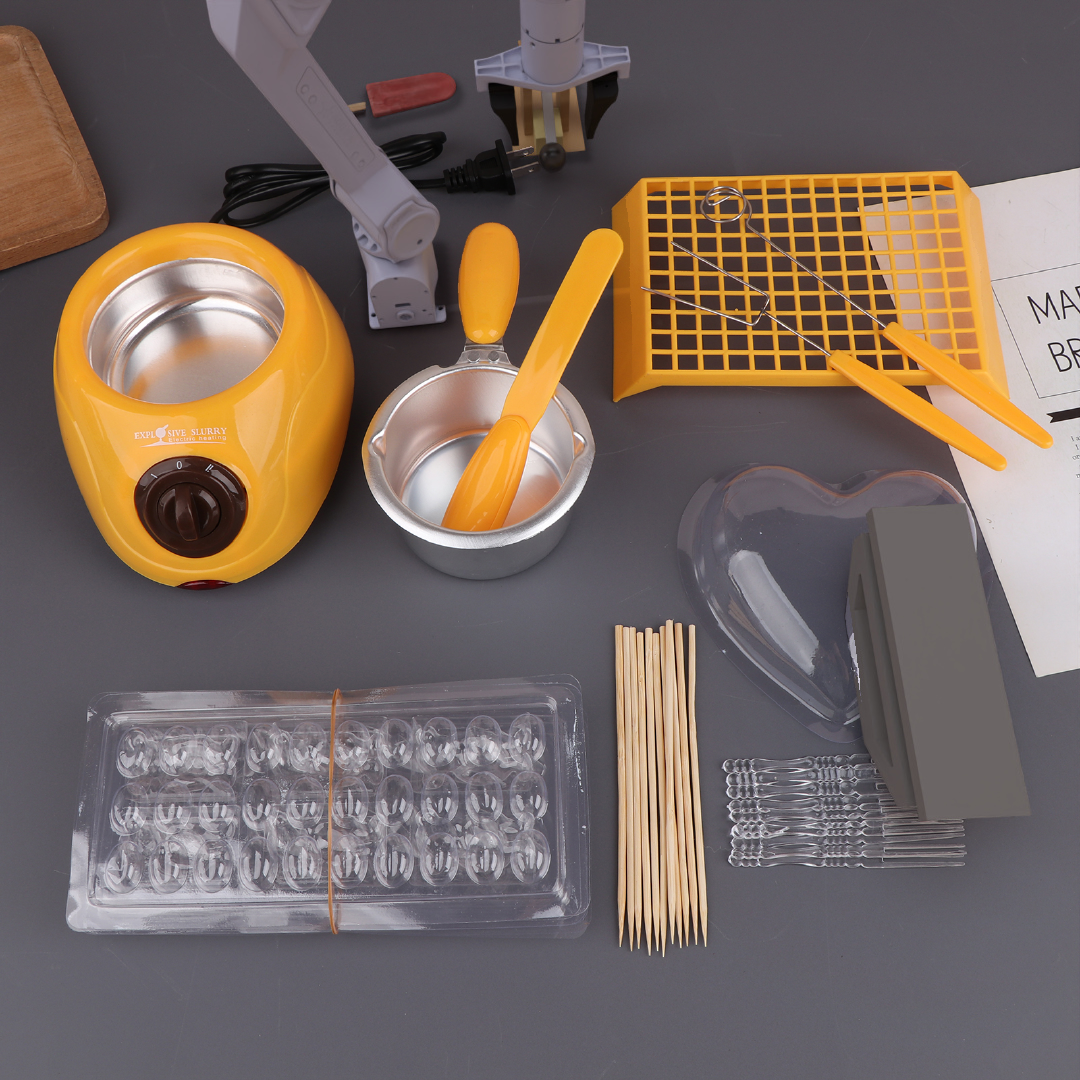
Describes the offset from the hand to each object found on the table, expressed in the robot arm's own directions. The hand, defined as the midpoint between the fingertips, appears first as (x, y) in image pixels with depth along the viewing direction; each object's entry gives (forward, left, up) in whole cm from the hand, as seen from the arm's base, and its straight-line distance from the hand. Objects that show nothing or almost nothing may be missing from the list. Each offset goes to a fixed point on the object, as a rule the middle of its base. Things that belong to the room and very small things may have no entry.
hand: (551, 135), depth 92 cm
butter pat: (+5, 0, -6) cm, 8 cm away
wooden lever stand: (+8, 0, -7) cm, 11 cm away
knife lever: (+5, 0, -3) cm, 6 cm away
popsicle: (+13, +17, -8) cm, 23 cm away
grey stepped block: (-58, -25, -8) cm, 63 cm away
